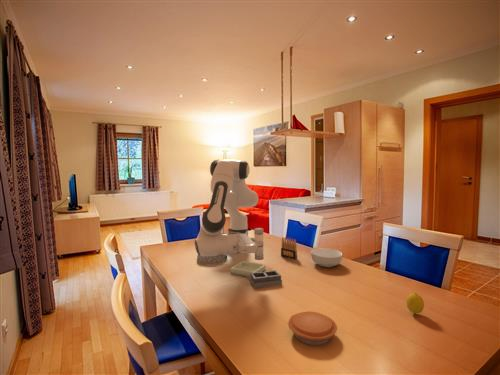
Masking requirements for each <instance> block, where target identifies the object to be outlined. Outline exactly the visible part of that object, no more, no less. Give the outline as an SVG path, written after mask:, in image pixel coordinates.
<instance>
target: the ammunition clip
mask: <svg viewBox="0 0 500 375" xmlns="http://www.w3.org/2000/svg"><path fill="white" fill-rule="evenodd" d="M280 257H284V258H287V259H291V260H298V250H297V240H296V239H293V238H291V237H287V238H286V236H285V237H284V236H282V238H281V248H280Z"/></svg>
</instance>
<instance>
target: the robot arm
mask: <svg viewBox="0 0 500 375" xmlns="http://www.w3.org/2000/svg"><path fill="white" fill-rule="evenodd" d="M209 172H210V175H211V180H210V192H212V195H211V198H210V203H209V206H208V207H207V208H206V210H205V211H204V213H203V214H202V217H201V226H200V229H199V232H198V234H197V237H196V238H195V239H194V247H195V251H196V254H197V256H198V255H200V256H217V255H220V254H223V255H227V256H228V255H237V253H239V254H243V255H244V254H255V253H256V252H257V247H258V246H263V247H264V241H263V242H262V241H258V242H255V237H249V228H248V216H247V215H246V214H245V213H244V212H242V211H240V210H239V208H253V207H256V206H257V204H258V202H259V195H258V193H257V192H256V191H255V190H252V189H251V188H249V186H248V185H247V182H246V179H247V178H248V177H249V174H250V165H249V163H248V162H247V161H246V160H238V159H214V160H213V161H212V162H211V163H210V166H209ZM225 210H226V212H227V213H228V215H229V221H230V227H229V228H228V229H227V234H222V231H223V228H224V226H225V224H226V217H227V216H226V214H225Z"/></svg>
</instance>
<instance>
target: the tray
mask: <svg viewBox="0 0 500 375" xmlns="http://www.w3.org/2000/svg"><path fill="white" fill-rule="evenodd" d="M264 271H266V264H262V263H256V262H251V261H246V260H242V261H240V262H239V263H237V264H234V265H233V266H232V267H230V274H233V275H237V276H243V277H246V278H247V277H248V278H250V273H255V272H264Z"/></svg>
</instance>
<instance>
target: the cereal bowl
mask: <svg viewBox="0 0 500 375" xmlns="http://www.w3.org/2000/svg"><path fill="white" fill-rule="evenodd" d="M310 256H311V260H312V262H314V263H315V264H317V265H319V266H320V267H324V268H332V267H334V266H337V265H340V263H341V262H342V260H343V253H342V251H341V250H337V249H334V248H327V247H326V248H325V247H324V248H319V247H318V248H315V249H312V250H311V252H310Z"/></svg>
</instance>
